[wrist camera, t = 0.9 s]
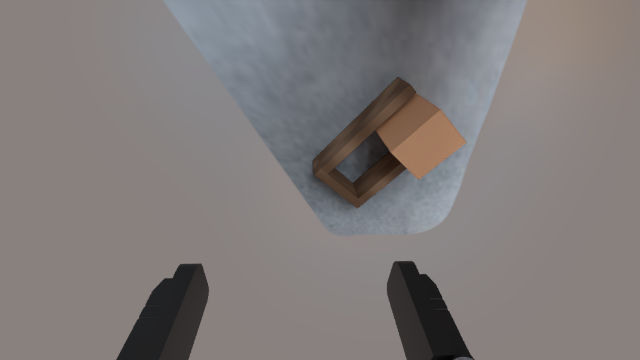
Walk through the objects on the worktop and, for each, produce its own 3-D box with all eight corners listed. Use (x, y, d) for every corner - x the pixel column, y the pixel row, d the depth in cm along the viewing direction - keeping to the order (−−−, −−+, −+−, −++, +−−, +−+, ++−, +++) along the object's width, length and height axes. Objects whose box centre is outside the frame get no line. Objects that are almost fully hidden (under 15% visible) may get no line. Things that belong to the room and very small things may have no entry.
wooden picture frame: (397, 77, 31) (409, 84, 28) (435, 121, 35) (449, 133, 32) (312, 160, 37) (314, 175, 33) (352, 192, 40) (357, 208, 37)
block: (406, 87, 32) (440, 109, 24) (428, 114, 34) (466, 142, 26) (369, 122, 34) (390, 152, 26) (392, 145, 36) (418, 179, 29)
